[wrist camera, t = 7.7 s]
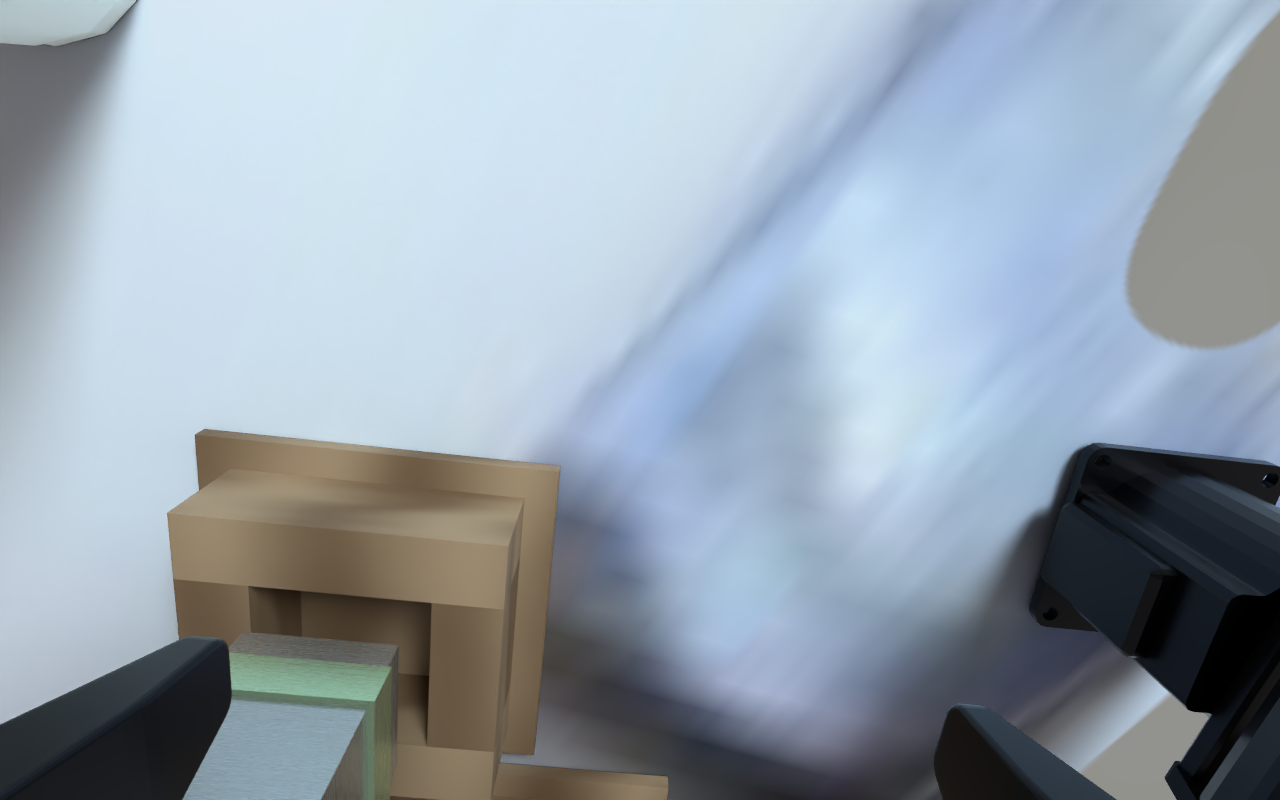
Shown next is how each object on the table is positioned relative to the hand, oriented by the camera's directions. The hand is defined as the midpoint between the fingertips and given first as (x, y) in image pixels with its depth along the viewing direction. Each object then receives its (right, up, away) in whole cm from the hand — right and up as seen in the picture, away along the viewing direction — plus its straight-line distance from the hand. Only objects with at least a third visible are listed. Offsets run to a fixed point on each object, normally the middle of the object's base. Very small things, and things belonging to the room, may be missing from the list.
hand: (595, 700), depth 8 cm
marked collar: (-8, -3, +14) cm, 17 cm away
